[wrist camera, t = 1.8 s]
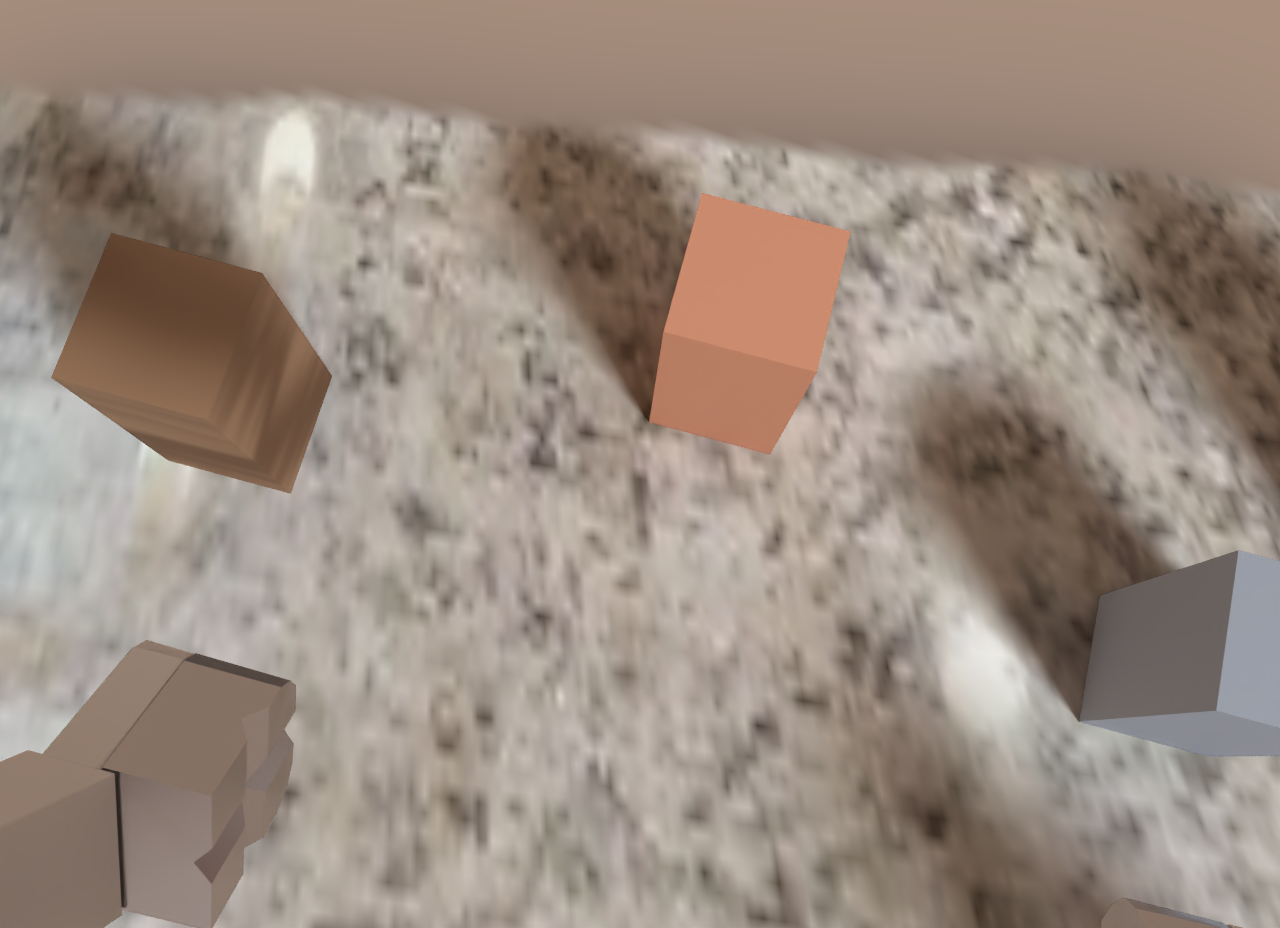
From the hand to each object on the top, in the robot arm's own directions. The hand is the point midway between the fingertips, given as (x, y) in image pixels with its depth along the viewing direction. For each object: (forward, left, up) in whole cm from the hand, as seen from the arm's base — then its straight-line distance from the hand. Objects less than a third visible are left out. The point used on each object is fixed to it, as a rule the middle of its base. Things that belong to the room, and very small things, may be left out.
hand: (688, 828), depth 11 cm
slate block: (+16, -8, -28) cm, 33 cm away
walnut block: (-3, +18, -28) cm, 33 cm away
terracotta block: (+11, +9, -28) cm, 31 cm away
